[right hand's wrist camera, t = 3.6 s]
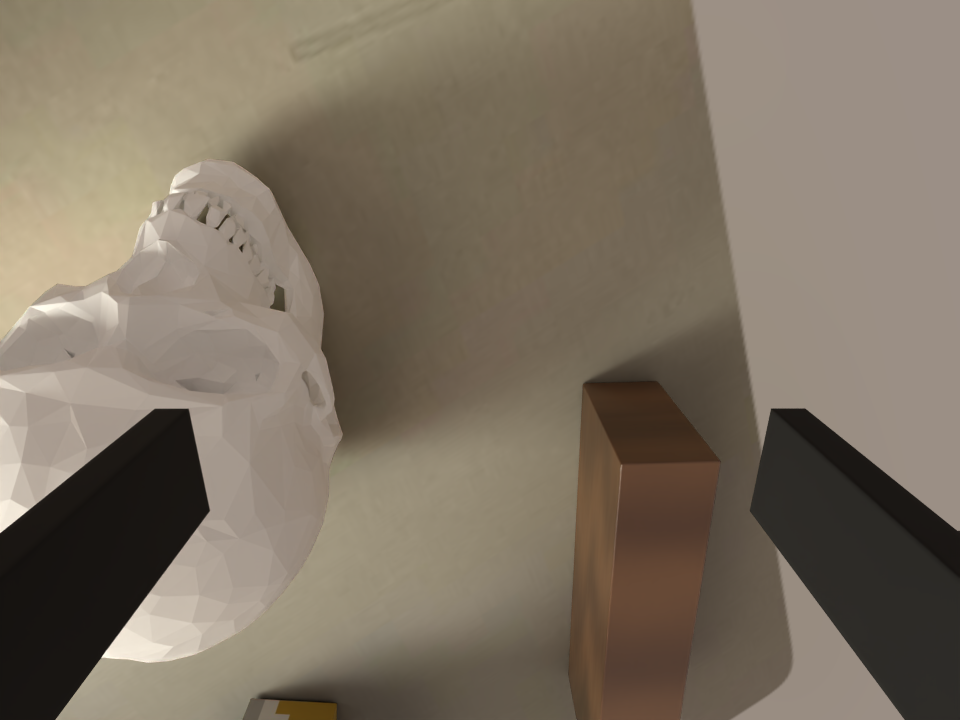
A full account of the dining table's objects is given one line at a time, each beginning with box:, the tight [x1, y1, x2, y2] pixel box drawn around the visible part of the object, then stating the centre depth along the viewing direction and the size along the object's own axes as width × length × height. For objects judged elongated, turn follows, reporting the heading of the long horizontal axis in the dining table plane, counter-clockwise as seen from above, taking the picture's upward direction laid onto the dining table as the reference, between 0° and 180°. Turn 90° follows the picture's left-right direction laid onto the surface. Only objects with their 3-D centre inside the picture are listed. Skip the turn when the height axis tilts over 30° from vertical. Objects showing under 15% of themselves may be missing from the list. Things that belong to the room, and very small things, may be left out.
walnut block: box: [568, 381, 721, 720], centre depth 33 cm, size 24×4×9 cm, turn 1°
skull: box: [0, 159, 343, 663], centre depth 25 cm, size 13×22×16 cm, turn 176°
